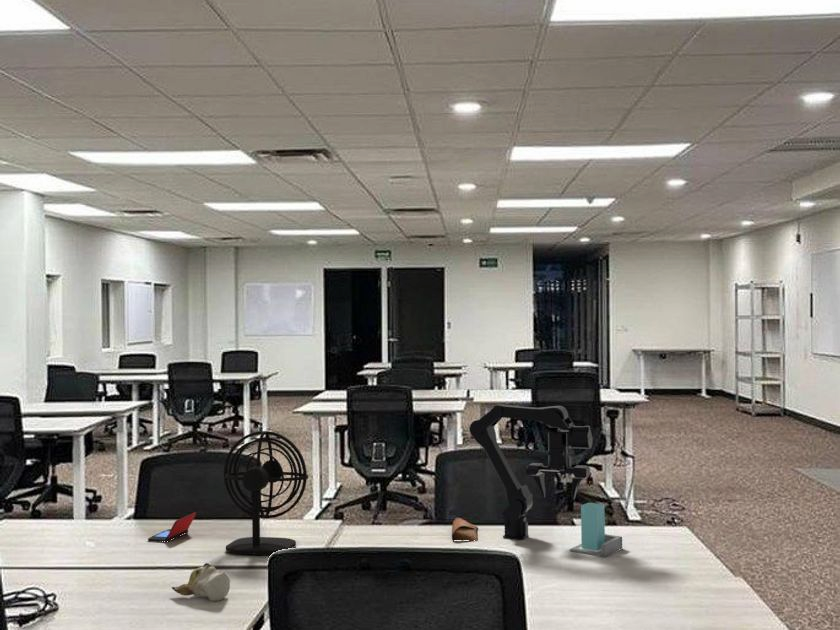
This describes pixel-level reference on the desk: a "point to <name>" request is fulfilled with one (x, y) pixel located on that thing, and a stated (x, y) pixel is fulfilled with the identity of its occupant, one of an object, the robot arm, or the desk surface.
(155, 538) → the handheld game console
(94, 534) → the desk surface
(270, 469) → the desk fan
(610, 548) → the tray
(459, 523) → the sunglasses case
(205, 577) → the ceramic sculpture
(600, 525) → the block
